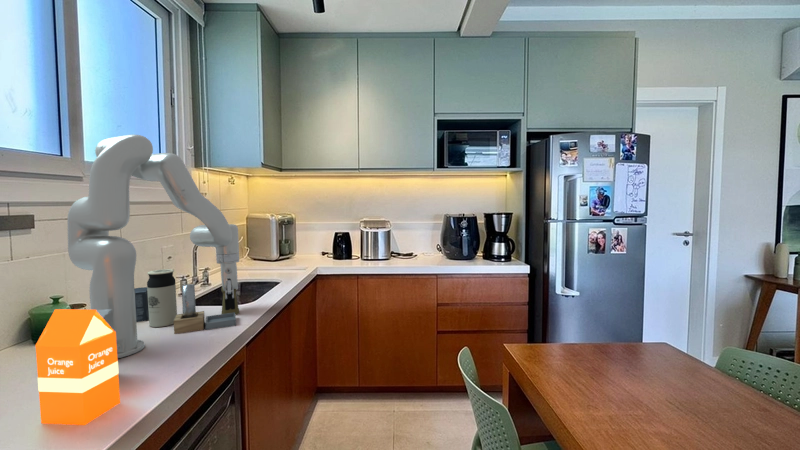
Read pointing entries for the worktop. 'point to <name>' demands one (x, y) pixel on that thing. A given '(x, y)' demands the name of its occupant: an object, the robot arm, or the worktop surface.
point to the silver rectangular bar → (188, 301)
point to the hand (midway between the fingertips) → (230, 307)
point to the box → (141, 304)
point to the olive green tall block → (230, 308)
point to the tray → (220, 321)
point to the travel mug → (161, 298)
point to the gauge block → (189, 323)
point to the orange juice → (76, 367)
